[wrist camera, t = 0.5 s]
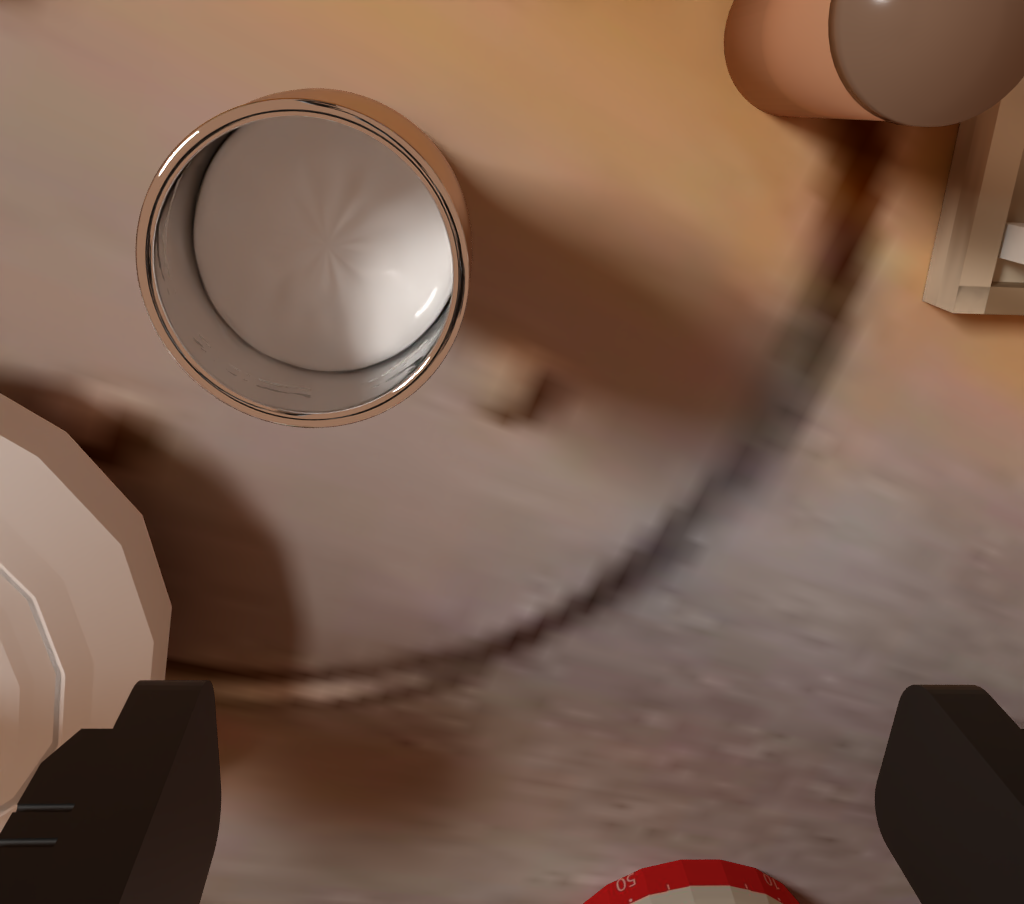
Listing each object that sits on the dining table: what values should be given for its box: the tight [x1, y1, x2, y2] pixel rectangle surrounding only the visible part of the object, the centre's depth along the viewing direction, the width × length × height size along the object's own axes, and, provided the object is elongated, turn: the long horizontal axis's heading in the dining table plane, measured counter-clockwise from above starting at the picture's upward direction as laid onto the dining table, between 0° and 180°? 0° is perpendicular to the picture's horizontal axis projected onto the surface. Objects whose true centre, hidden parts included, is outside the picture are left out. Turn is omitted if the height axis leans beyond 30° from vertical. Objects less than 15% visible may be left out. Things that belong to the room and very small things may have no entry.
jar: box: [724, 0, 1024, 127], centre depth 26 cm, size 5×5×10 cm
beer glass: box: [135, 88, 473, 428], centre depth 25 cm, size 7×7×15 cm
